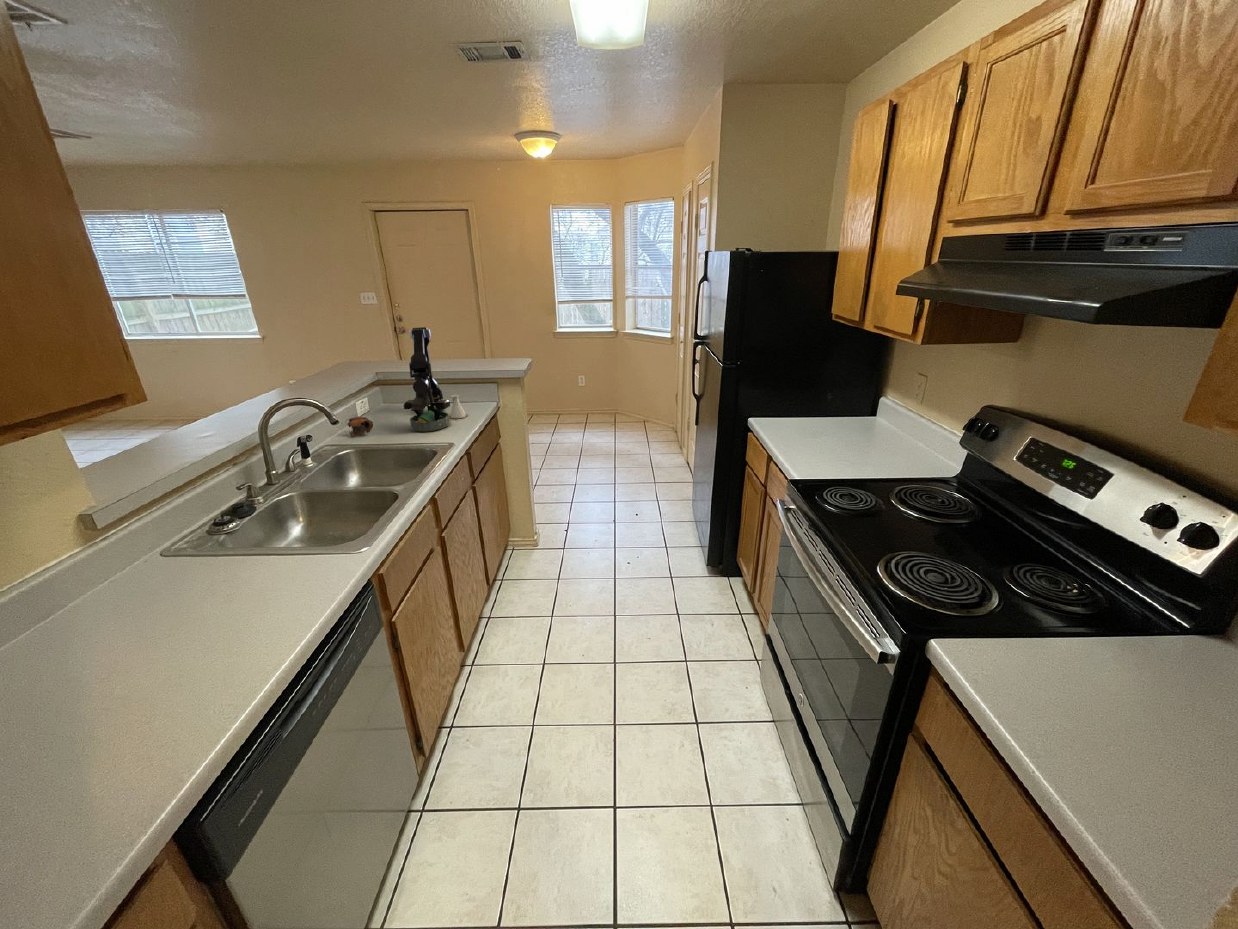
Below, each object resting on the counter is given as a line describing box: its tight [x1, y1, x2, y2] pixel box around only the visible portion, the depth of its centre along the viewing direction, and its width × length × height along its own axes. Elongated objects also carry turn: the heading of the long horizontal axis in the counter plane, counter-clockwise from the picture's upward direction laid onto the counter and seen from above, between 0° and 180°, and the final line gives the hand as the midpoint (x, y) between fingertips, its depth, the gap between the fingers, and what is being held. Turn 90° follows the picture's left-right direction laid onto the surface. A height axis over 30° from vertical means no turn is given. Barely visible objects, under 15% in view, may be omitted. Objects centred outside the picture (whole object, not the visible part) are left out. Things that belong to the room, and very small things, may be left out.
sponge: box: [418, 410, 441, 422], centre depth 220 cm, size 9×6×3 cm, turn 173°
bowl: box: [409, 411, 451, 433], centre depth 221 cm, size 16×16×4 cm
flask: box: [450, 394, 467, 419], centre depth 233 cm, size 7×7×10 cm
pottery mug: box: [346, 416, 374, 438], centre depth 215 cm, size 12×10×8 cm
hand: (430, 423), depth 221 cm, fingers closed on sponge, 6 cm apart
